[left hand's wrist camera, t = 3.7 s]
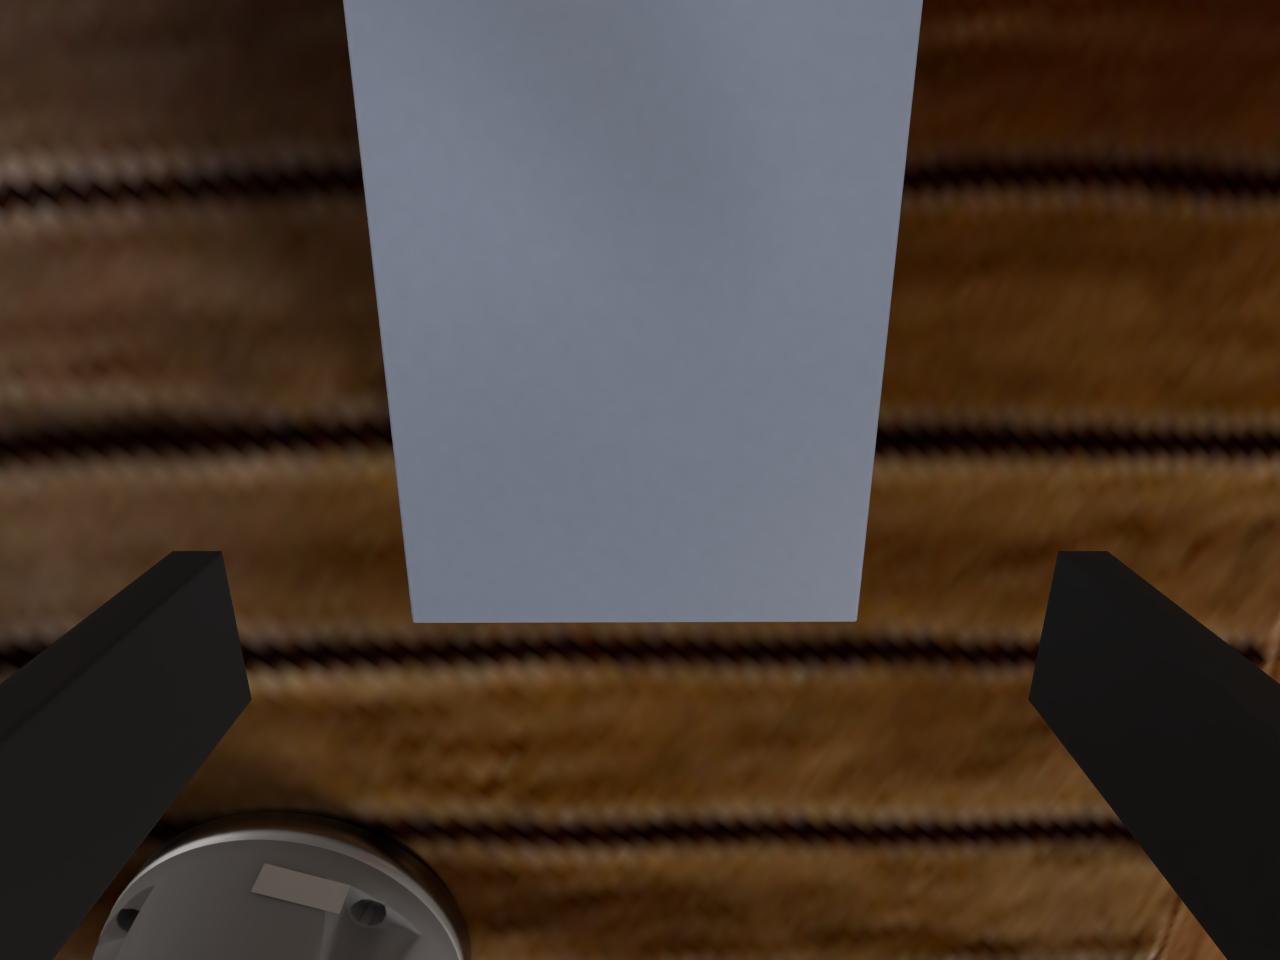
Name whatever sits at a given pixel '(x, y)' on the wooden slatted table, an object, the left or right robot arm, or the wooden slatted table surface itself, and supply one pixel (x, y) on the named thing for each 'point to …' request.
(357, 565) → the wooden slatted table surface
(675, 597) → the cabinet
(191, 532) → the wooden slatted table surface
